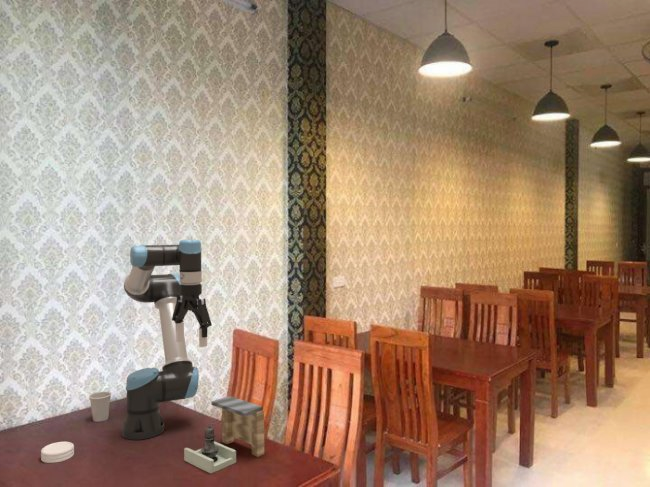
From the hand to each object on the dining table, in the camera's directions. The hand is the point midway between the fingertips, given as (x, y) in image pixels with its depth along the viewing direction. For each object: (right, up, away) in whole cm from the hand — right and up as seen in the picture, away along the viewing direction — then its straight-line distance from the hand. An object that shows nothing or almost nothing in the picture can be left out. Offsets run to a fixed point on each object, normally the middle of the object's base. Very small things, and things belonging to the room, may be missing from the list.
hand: (191, 343), depth 182 cm
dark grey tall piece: (+9, -37, -10) cm, 39 cm away
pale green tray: (+9, -37, -10) cm, 39 cm away
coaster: (-44, -38, -6) cm, 58 cm away
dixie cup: (-44, -36, +29) cm, 64 cm away
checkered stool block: (+16, -37, -2) cm, 40 cm away
